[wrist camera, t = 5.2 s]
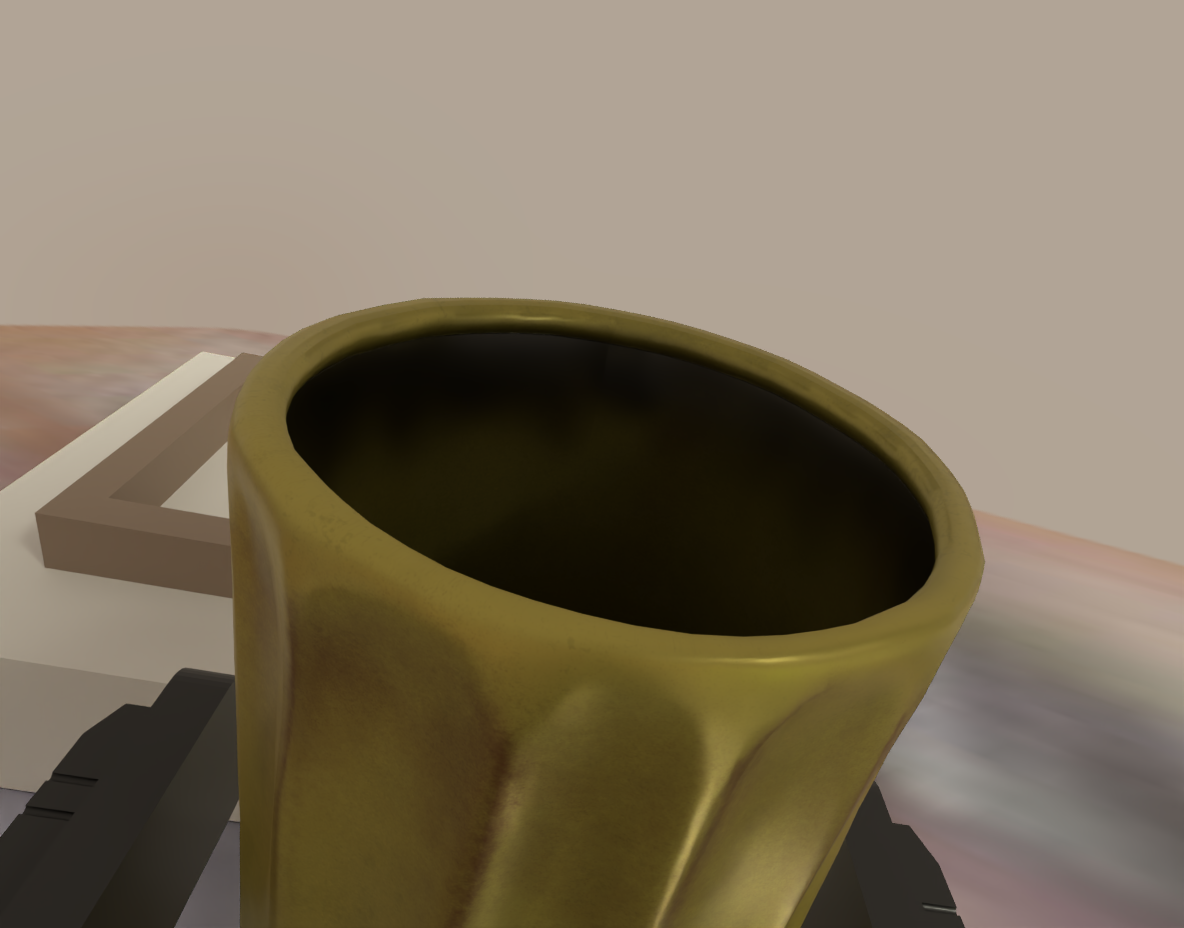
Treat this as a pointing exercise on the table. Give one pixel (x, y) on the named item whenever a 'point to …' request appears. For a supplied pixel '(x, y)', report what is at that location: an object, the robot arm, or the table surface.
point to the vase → (568, 619)
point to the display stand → (117, 566)
